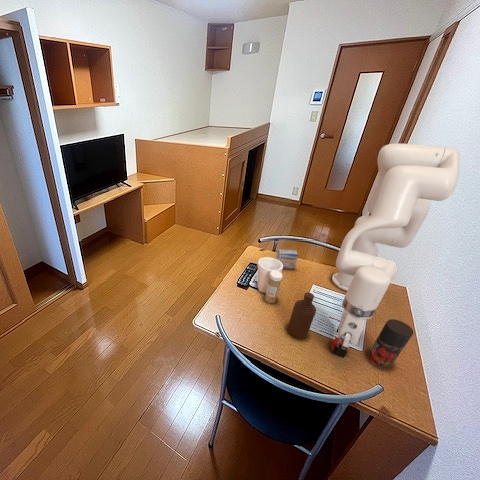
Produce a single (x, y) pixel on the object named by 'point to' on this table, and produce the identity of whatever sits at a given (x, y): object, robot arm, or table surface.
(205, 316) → the table surface
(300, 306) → the sauce bottle
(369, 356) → the deodorant
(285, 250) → the medicine box
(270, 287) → the sprinkles bottle
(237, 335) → the table surface
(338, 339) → the cap
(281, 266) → the foam cup
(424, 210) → the robot arm
